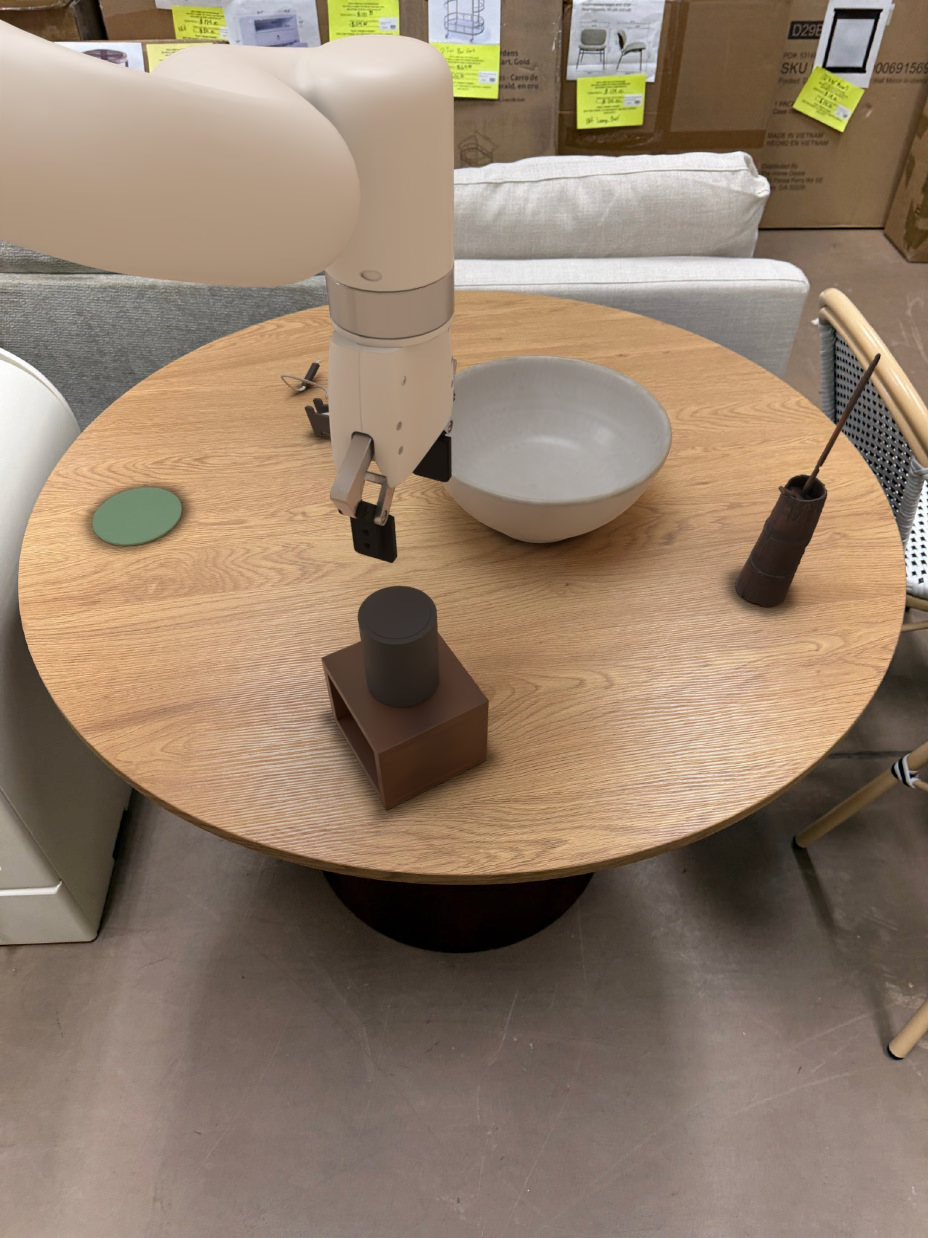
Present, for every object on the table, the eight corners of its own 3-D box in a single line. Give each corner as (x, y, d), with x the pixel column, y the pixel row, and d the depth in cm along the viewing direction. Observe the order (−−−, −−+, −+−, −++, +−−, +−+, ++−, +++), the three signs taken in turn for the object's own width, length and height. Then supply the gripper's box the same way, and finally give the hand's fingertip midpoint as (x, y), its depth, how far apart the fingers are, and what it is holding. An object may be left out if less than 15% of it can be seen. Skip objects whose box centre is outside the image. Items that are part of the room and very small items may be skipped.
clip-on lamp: (273, 419, 112) (348, 453, 101) (255, 377, 108) (331, 407, 97) (339, 380, 117) (418, 407, 105) (325, 338, 113) (404, 362, 101)
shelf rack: (386, 811, 69) (378, 753, 62) (333, 718, 75) (320, 657, 69) (486, 760, 72) (489, 700, 66) (428, 676, 79) (424, 613, 72)
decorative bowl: (482, 419, 107) (484, 334, 98) (680, 475, 100) (702, 388, 91) (381, 543, 91) (372, 455, 82) (607, 622, 83) (624, 534, 74)
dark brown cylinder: (386, 719, 64) (379, 655, 59) (354, 668, 68) (344, 602, 62) (452, 689, 67) (451, 624, 61) (418, 640, 70) (414, 574, 64)
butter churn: (716, 626, 83) (801, 385, 62) (700, 561, 89) (772, 323, 69) (806, 628, 83) (922, 387, 62) (784, 562, 89) (881, 324, 68)
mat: (105, 557, 90) (104, 555, 90) (84, 506, 96) (83, 504, 95) (193, 527, 93) (192, 525, 93) (168, 479, 99) (167, 477, 99)
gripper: (397, 226, 54) (408, 439, 67) (258, 350, 44) (303, 575, 56) (501, 245, 53) (493, 460, 65) (383, 380, 42) (400, 606, 55)
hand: (405, 513), depth 61 cm, fingers open, 9 cm apart
